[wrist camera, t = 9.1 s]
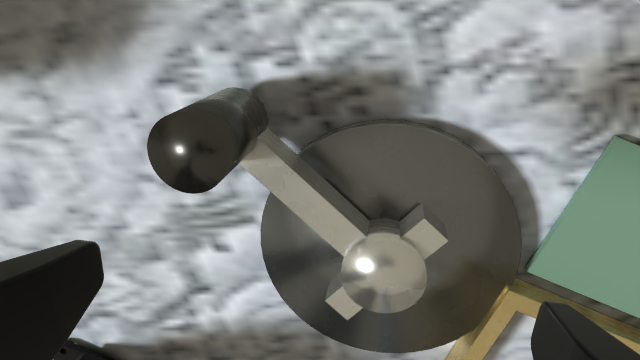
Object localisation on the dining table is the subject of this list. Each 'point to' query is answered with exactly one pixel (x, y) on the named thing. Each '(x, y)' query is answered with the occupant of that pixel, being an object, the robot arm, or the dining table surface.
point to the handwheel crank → (298, 199)
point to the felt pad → (599, 233)
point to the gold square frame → (528, 301)
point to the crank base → (396, 203)
